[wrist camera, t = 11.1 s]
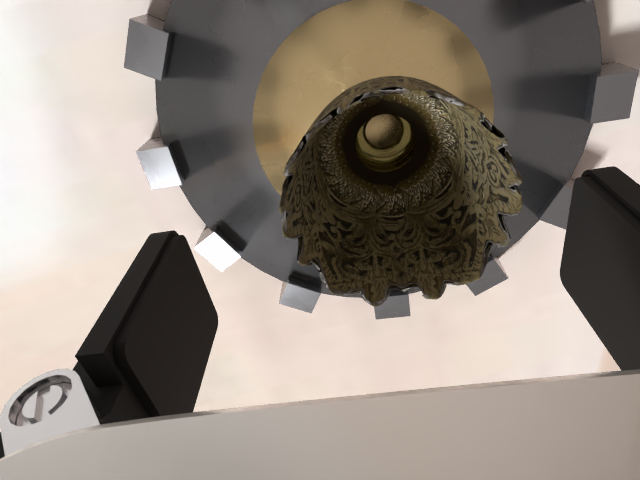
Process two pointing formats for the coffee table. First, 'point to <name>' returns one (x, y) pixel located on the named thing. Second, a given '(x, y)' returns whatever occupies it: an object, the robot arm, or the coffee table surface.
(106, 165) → the coffee table surface
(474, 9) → the gear
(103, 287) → the coffee table surface
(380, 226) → the cup
